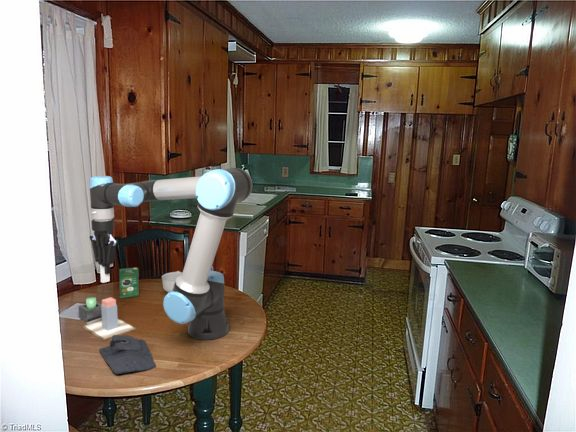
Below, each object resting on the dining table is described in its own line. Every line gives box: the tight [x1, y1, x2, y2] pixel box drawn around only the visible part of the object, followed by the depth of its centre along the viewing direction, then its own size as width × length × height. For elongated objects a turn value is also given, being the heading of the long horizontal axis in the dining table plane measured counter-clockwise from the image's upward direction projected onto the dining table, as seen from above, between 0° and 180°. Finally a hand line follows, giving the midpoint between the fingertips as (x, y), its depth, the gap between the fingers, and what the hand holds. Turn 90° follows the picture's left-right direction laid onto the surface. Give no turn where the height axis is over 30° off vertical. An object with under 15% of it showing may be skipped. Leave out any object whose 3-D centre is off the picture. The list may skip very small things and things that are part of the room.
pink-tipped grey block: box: [101, 296, 119, 331], centre depth 160 cm, size 4×4×11 cm
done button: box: [85, 296, 97, 309], centre depth 169 cm, size 4×4×5 cm
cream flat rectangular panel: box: [80, 317, 138, 342], centre depth 161 cm, size 17×13×1 cm
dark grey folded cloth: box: [99, 334, 157, 375], centre depth 140 cm, size 15×22×5 cm
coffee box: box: [118, 267, 140, 299], centre depth 191 cm, size 8×3×13 cm, turn 119°
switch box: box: [78, 301, 102, 323], centre depth 169 cm, size 7×7×5 cm
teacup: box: [161, 270, 183, 294], centre depth 201 cm, size 14×11×8 cm
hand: (105, 281), depth 158 cm, fingers closed
